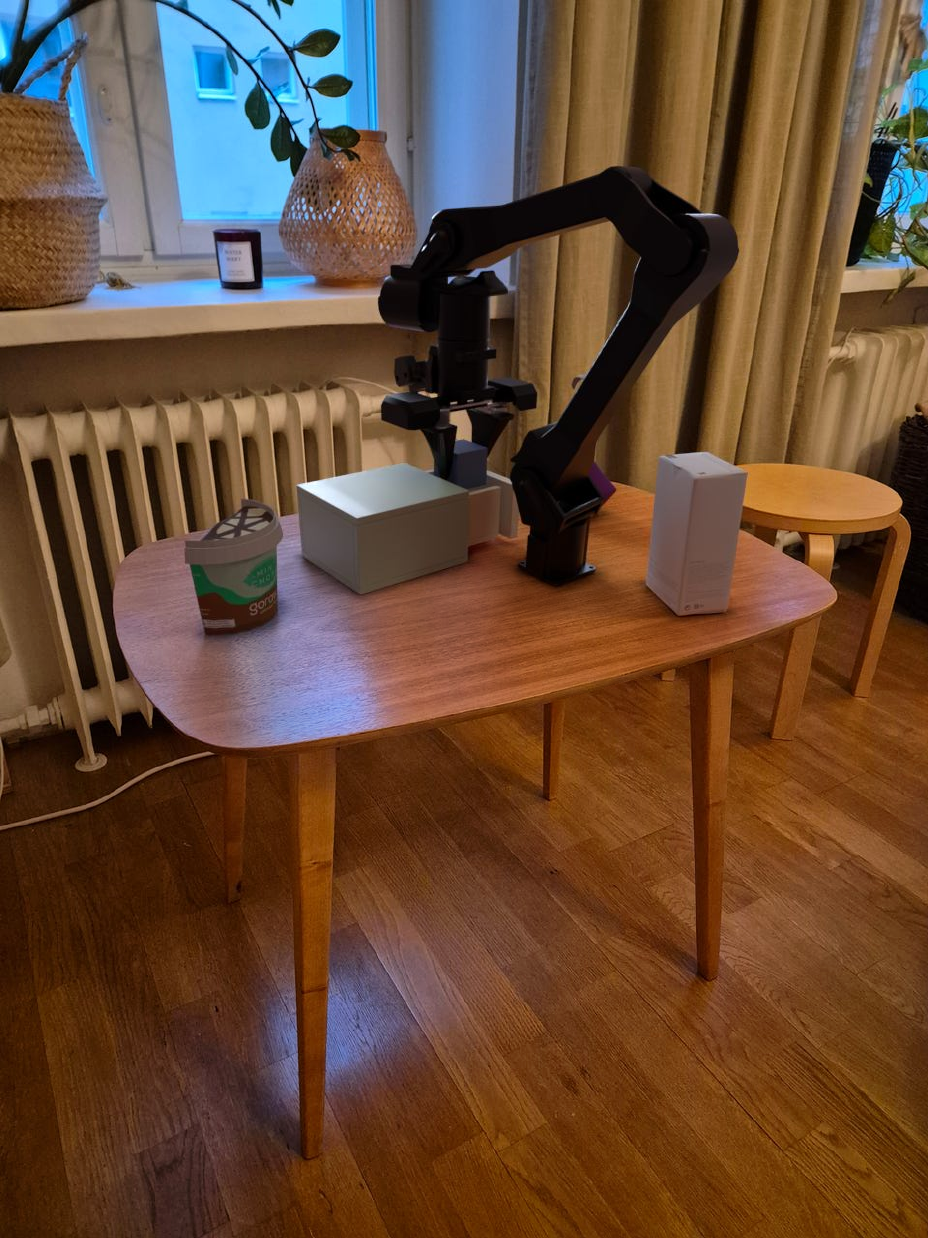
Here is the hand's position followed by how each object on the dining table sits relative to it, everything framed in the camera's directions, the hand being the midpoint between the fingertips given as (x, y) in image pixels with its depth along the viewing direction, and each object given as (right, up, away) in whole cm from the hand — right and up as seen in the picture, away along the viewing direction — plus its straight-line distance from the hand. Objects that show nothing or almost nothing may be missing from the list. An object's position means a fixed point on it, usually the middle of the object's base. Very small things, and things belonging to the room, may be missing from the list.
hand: (460, 475), depth 94 cm
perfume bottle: (+15, -3, +13) cm, 20 cm away
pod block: (0, -1, 0) cm, 1 cm away
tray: (0, -6, +3) cm, 7 cm away
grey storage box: (-9, -10, -2) cm, 14 cm away
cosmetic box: (+24, -15, -9) cm, 30 cm away
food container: (-20, -17, -15) cm, 30 cm away
